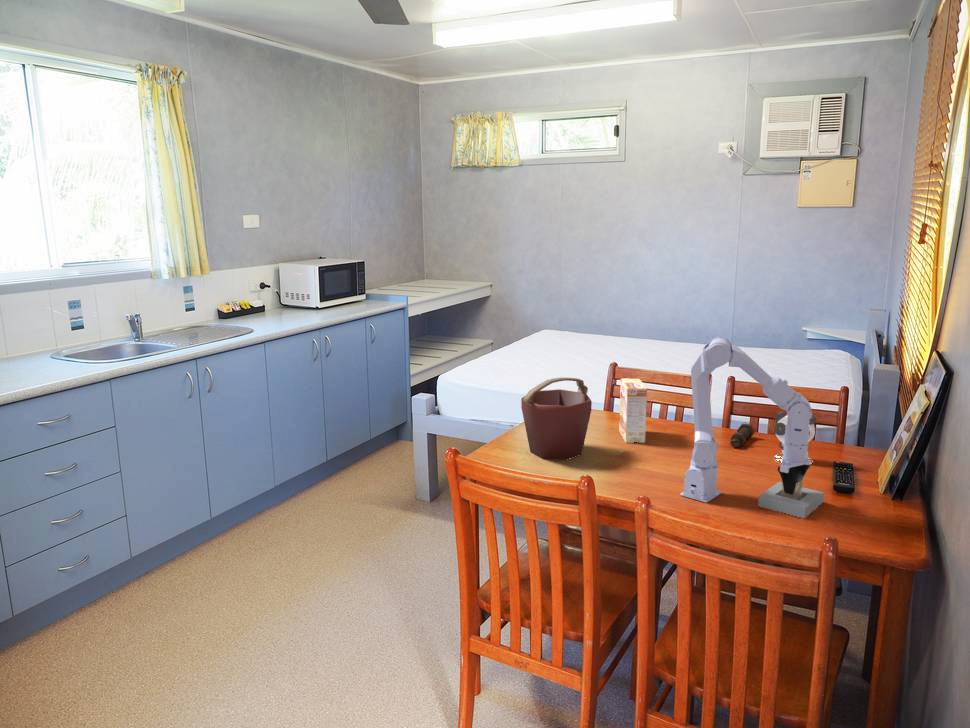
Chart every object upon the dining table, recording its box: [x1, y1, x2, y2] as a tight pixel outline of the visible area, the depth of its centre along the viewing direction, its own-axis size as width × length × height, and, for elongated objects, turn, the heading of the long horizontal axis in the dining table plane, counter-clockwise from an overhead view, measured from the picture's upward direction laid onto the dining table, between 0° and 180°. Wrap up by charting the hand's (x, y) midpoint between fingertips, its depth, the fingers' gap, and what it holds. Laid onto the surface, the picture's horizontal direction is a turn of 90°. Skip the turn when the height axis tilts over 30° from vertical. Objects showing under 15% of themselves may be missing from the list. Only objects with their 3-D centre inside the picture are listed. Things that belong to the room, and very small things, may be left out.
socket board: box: [757, 481, 825, 519], centre depth 190 cm, size 14×12×3 cm
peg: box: [781, 475, 805, 500], centre depth 189 cm, size 4×4×6 cm
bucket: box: [520, 376, 593, 461], centre depth 231 cm, size 24×22×25 cm
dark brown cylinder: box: [729, 423, 756, 448], centre depth 241 cm, size 6×5×15 cm
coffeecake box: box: [618, 377, 648, 444], centre depth 248 cm, size 15×7×20 cm, turn 178°
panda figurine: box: [774, 411, 817, 465], centre depth 223 cm, size 12×11×15 cm
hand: (791, 490), depth 189 cm, fingers closed on peg, 4 cm apart
